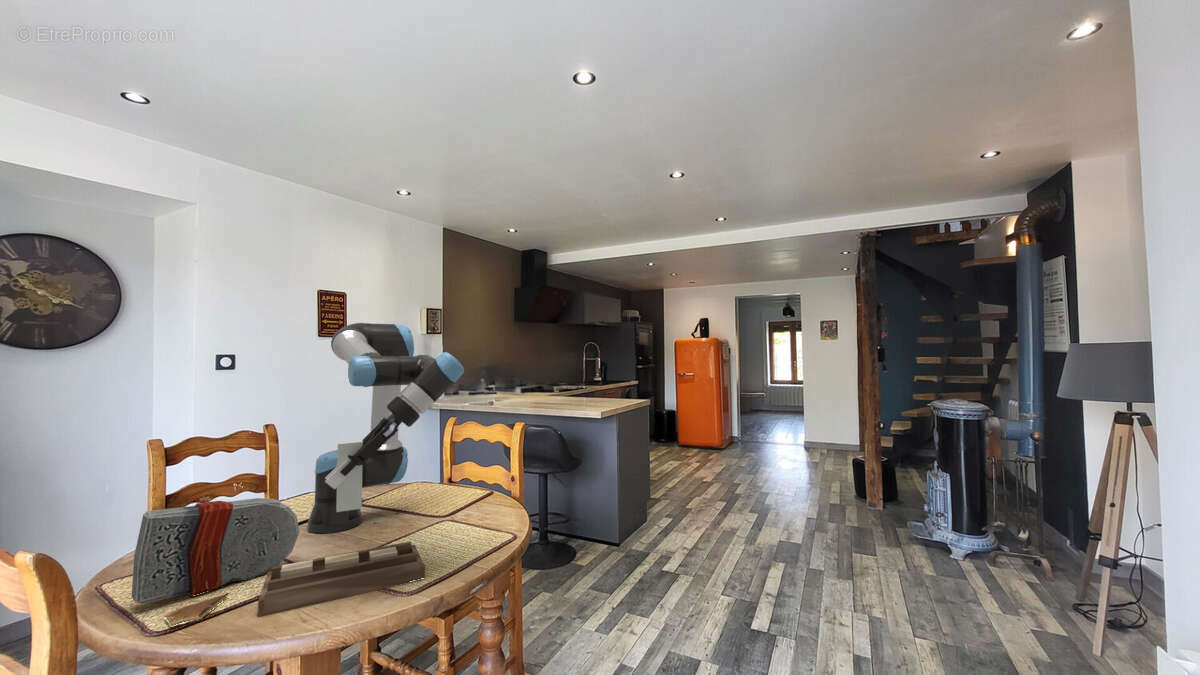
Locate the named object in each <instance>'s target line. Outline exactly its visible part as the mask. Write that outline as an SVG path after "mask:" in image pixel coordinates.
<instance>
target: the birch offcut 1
mask: <svg viewBox="0 0 1200 675" xmlns="http://www.w3.org/2000/svg"><path fill="white" fill-rule="evenodd" d="M308 560H309V561H306V560H303V561H304V562H301V561H297V562H298V563H295V562H292V563H293V564H290V563H286V564H287V565H284V564H281V565H282V569H281V575H280V578H284V577H290V576H295V575H300V574H305V573H310V572H313V560H312V559H308Z"/></svg>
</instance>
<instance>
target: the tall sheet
mask: <svg viewBox="0 0 1200 675" xmlns="http://www.w3.org/2000/svg"><path fill="white" fill-rule="evenodd" d="M362 440H363V439H362ZM362 440H361V439H360V440H350V441H349V440H348V441H347V440H346V441H338V442H337V450H338V456H337V469H338V468H339V467H340V466H341V465H342V464H343V463H344V462H345V461H346V460H347V459H348V455H351V456H353V455H354V454H355V453H356V452H357V451H358V450H359V449H360V448H361V447H362V446H363V441H362ZM362 502H363V488H362V465H359V466H358V467H357V468H356V469H355V470H354V471H353V472H352V473H351V474H350V475H349V476H348V477H347V478H346V479H345V480H344V481H343V482H342V483H341V484H340V485H339V486H338V487H337V503H336V512H341V511H348V510H355V509H360V510H361V509H362V508H363V507H362V505H363V503H362Z"/></svg>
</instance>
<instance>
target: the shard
mask: <svg viewBox="0 0 1200 675" xmlns="http://www.w3.org/2000/svg"><path fill="white" fill-rule="evenodd" d="M229 595H230V592H227V593H224V594H220V595H218V596H214V597H212V598H208V599H205V600H201V601H198V602H196V603H192V604H189V605H187V606H184V607H180V608H176V609H175V610H172V611H169V612H166V613H165V614H164V615H163V616H164V617H166V618H167V620H168V621H169V623H170V625H171V626H173V625H176V624H179V623H182V622H186V621H191V620H199V619H202V618H203V617H204V616H205V615H206V614H207V613H208V612H209V611H210V610H212V609H213V608H214V607H216V606H217V605H218V604H219V603H221V602H222V600H224V599H225V598H226V599H227V596H229ZM208 614H209V613H208ZM208 614H207V615H208ZM207 615H206V616H207ZM206 616H205V617H206ZM164 617H163V618H164ZM205 617H204V618H205ZM204 618H203V619H204ZM203 619H202V620H203Z"/></svg>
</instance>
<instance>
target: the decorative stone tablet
mask: <svg viewBox="0 0 1200 675" xmlns="http://www.w3.org/2000/svg"><path fill="white" fill-rule="evenodd" d="M299 534H300V527H299V522H298V516H297V514H296V513H295V512H294V510H293V509H292V508H291V507H290V506H289V505H287V504H285V503H283V502H281V501H280V500H277V499H275V498H260V497H254V498H247V499H240V500H231V501H225V500H216V501H215V500H213V501H205V502H197V503H196V504H195V505H192V506H190V505H189V506H182V507H181V506H180V507H173V508H163V509H156V510H148V511H146V512H144V513H143V514H142V520H141V524H140V528H139V533H138V536H137V541H136V547H135V551H134V555H133V569H132V584H131V585H132V586H131V597H130V598H132V600H133V602H134V603H135V604H140V605H144V604H148V603H151V602H156V601H161V600H164V599H165V600H166V599H170V598H174V597H178V596H183V595H187V594H188V595H189V596H190V595H191V596H193V595H197V594H200V593H203V592H207V591H210V590H213V591H215V590H214V589H216V590H217V589H218V588H220V587H222V586H223V585H226V584H228V583H231V582H233V583H234V582H240V581H241V582H242V581H247V579H248V580H251V578H252V579H254V578H256V576H257V577H259V576H261V575H263V574H267V572H270V571H272V568H273V566H279V565H281V563H283V561H284V560H285V559H286V558H287V557H288V556H289V555H290V554H291V553H292V552H293V550H294V547H295V545H296V542H297V541H298V540H297V539H298V537H299ZM253 577H254V578H253ZM210 592H211V591H210ZM207 593H208V592H207ZM191 596H190V597H191Z"/></svg>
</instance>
